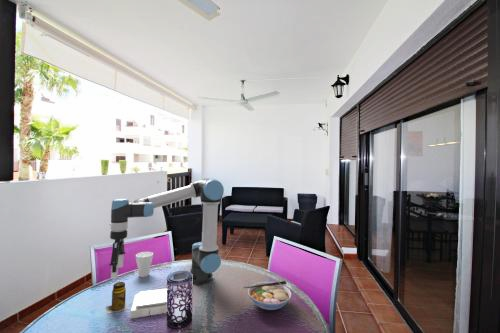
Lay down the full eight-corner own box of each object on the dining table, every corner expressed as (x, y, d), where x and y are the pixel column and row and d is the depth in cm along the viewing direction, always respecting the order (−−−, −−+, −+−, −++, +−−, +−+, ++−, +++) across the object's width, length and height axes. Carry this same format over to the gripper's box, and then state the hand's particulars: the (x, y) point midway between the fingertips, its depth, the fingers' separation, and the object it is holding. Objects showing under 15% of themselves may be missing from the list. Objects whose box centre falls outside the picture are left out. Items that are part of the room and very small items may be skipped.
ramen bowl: (252, 322, 113) (252, 304, 113) (240, 297, 135) (241, 282, 135) (300, 315, 120) (301, 298, 120) (282, 292, 142) (282, 278, 142)
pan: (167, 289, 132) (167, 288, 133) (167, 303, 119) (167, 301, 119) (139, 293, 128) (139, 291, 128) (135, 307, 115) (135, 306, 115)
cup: (149, 270, 167) (149, 250, 167) (154, 275, 159) (155, 254, 159) (132, 274, 160) (133, 253, 160) (138, 280, 152) (138, 258, 152)
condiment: (126, 309, 121) (127, 285, 121) (106, 314, 116) (107, 289, 116) (124, 302, 127) (125, 279, 127) (106, 307, 122) (107, 283, 122)
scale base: (171, 296, 134) (171, 288, 134) (171, 313, 118) (171, 305, 118) (135, 300, 128) (135, 293, 129) (130, 319, 112) (130, 310, 113)
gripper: (116, 224, 132) (114, 263, 132) (104, 237, 109) (101, 284, 108) (131, 224, 135) (129, 262, 134) (122, 236, 111) (120, 282, 111)
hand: (117, 272), depth 121 cm, fingers open, 13 cm apart
